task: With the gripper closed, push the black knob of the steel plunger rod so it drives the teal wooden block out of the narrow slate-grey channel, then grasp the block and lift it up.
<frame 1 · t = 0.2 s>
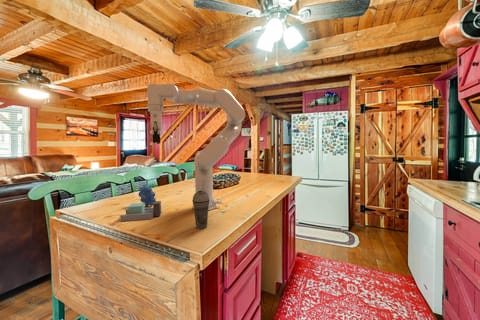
hand: (156, 142, 117), 36 cm above the countertop, tool pointing down, fingers open, 9 cm apart
channel: (139, 216, 111), on the countertop
plunger: (152, 208, 112), point 3 cm above the countertop, slide at 0.0 cm
beverage cup: (201, 227, 97), on the countertop
block: (137, 216, 111), on the countertop
grapes: (146, 206, 128), on the countertop
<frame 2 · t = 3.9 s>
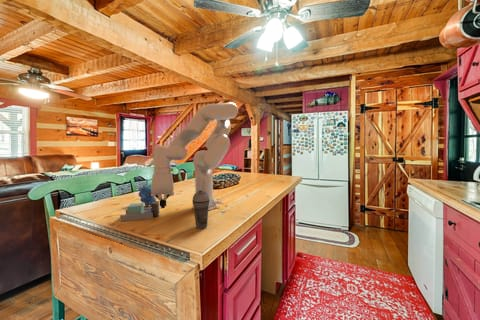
hand: (163, 207, 113), 4 cm above the countertop, tool pointing down, fingers closed
plunger: (150, 208, 112), point 3 cm above the countertop, slide at 1.0 cm, touching gripper
everything else where it was.
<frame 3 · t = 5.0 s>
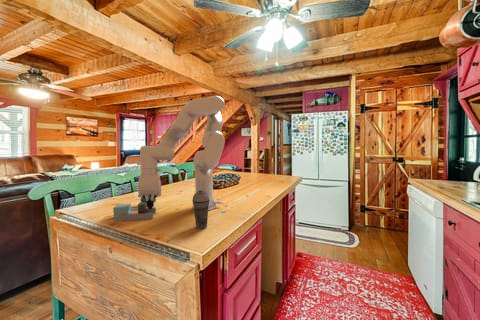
hand: (150, 208, 112), 4 cm above the countertop, tool pointing down, fingers closed
plunger: (137, 209, 111), point 3 cm above the countertop, slide at 6.9 cm, touching gripper
block: (122, 217, 109), on the countertop
everything else where it was.
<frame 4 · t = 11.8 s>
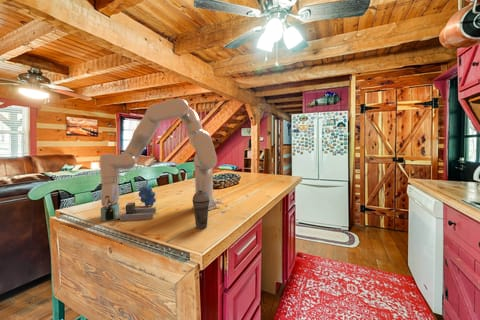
hand: (112, 217, 108), 1 cm above the countertop, tool pointing down, fingers closed on block, 6 cm apart
plunger: (125, 210, 109), point 3 cm above the countertop, slide at 12.2 cm
block: (110, 218, 108), on the countertop, touching gripper
everything else where it was.
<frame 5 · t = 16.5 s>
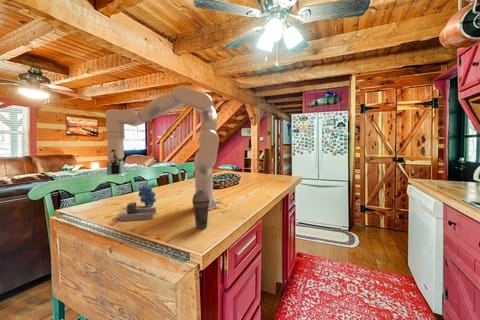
hand: (117, 172, 111), 21 cm above the countertop, tool pointing down, fingers closed on block, 6 cm apart
plunger: (126, 210, 109), point 3 cm above the countertop, slide at 11.7 cm
block: (116, 173, 111), point 21 cm above the countertop, touching gripper
everything else where it was.
at the end: the gripper is holding block; block point 20.8 cm above the countertop; plunger slide at 11.7 cm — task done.
